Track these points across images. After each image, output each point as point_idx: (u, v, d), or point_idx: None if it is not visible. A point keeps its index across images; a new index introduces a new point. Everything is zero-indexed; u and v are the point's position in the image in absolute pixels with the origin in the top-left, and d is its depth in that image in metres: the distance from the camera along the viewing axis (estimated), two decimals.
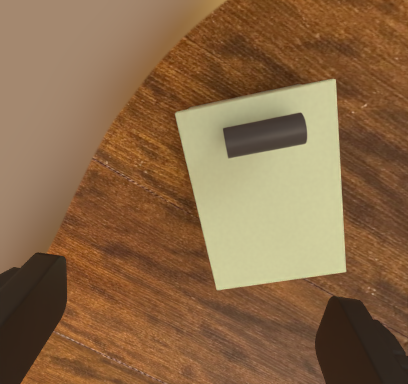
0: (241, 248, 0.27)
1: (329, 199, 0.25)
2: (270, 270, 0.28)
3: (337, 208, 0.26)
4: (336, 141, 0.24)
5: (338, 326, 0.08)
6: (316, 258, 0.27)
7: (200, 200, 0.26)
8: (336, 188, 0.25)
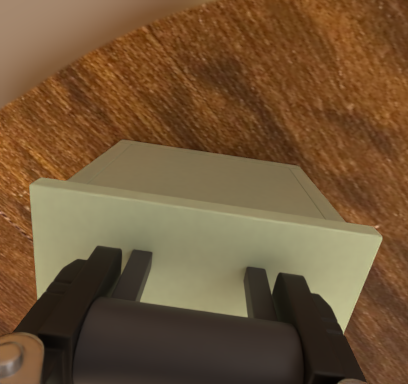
0: None
1: None
2: None
3: None
4: None
5: (281, 298, 0.09)
6: None
7: None
8: None
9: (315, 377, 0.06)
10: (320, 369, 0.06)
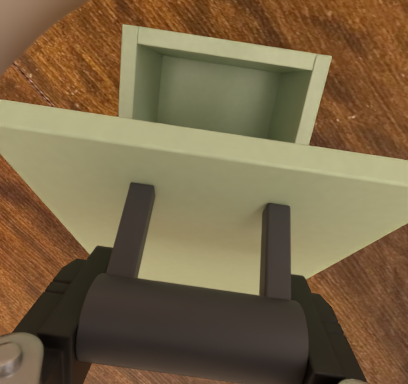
0: (144, 267, 0.18)
1: (292, 273, 0.16)
2: (180, 281, 0.21)
3: None
4: (357, 248, 0.11)
5: None
6: (243, 289, 0.20)
7: (76, 231, 0.14)
8: (311, 271, 0.15)
9: (315, 377, 0.06)
10: (320, 369, 0.06)
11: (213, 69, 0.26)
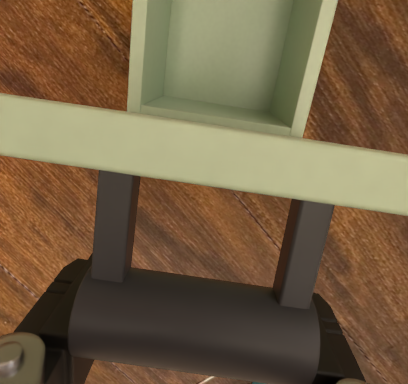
0: None
1: None
2: None
3: None
4: None
5: None
6: None
7: None
8: None
9: None
10: (319, 368, 0.06)
11: None
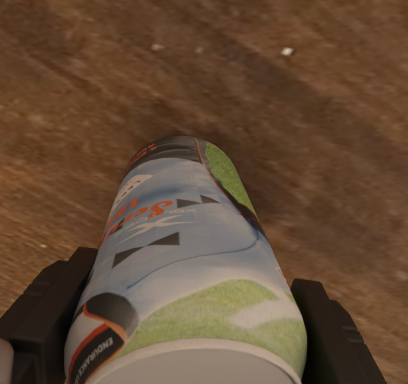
0: None
1: None
2: None
3: None
4: None
5: (298, 305, 0.09)
6: None
7: None
8: None
9: None
10: (345, 381, 0.06)
11: None
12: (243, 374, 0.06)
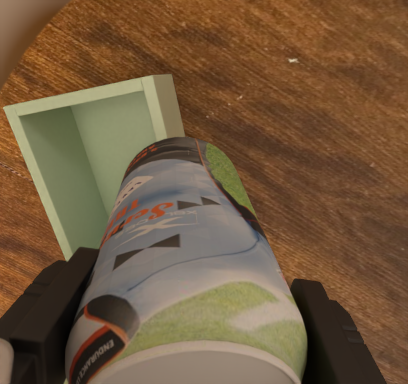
0: None
1: None
2: None
3: None
4: None
5: (298, 305, 0.09)
6: None
7: None
8: None
9: None
10: (345, 381, 0.06)
11: (111, 101, 0.32)
12: (243, 377, 0.06)
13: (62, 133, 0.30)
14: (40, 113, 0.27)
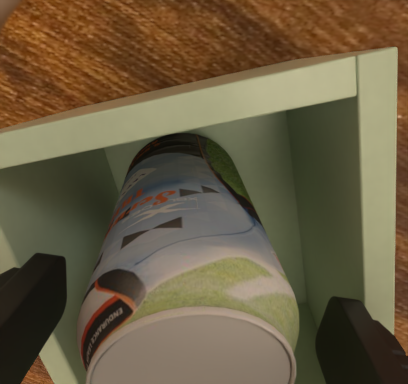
0: None
1: None
2: None
3: None
4: None
5: (338, 326, 0.08)
6: None
7: None
8: None
9: None
10: None
11: None
12: (239, 341, 0.07)
13: (84, 185, 0.14)
14: None
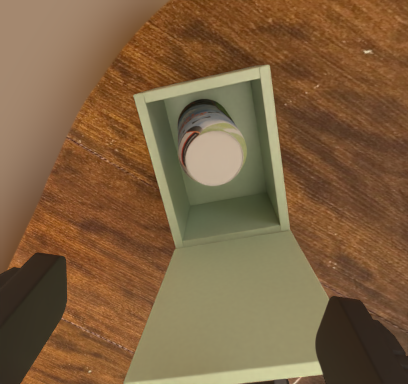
0: None
1: None
2: None
3: None
4: None
5: (338, 326, 0.08)
6: None
7: None
8: None
9: None
10: None
11: (200, 91, 0.35)
12: (227, 143, 0.26)
13: (162, 120, 0.33)
14: (153, 101, 0.30)
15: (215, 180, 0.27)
